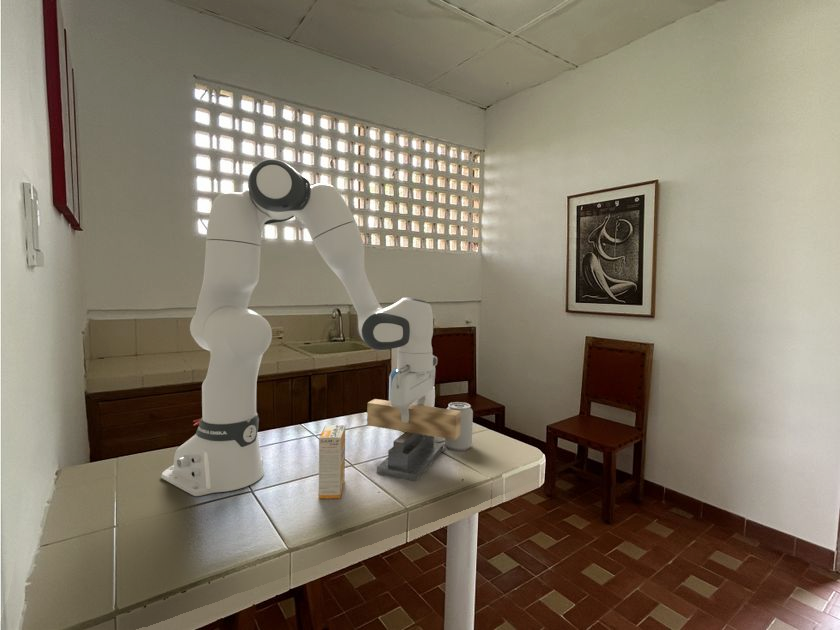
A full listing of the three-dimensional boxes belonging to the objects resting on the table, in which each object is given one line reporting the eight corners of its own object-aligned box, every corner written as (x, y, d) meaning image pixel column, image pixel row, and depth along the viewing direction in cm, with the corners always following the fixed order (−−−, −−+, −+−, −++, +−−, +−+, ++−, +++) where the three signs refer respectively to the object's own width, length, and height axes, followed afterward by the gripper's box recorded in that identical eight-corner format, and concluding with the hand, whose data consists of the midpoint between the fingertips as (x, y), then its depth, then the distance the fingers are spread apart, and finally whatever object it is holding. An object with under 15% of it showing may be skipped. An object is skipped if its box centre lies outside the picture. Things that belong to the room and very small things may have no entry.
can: (471, 442, 119) (472, 401, 118) (472, 452, 111) (473, 409, 111) (445, 440, 120) (446, 400, 119) (444, 451, 112) (445, 407, 111)
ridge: (376, 472, 98) (377, 440, 98) (409, 443, 117) (410, 415, 116) (415, 481, 94) (416, 447, 94) (443, 449, 113) (444, 421, 112)
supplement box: (341, 499, 86) (341, 437, 85) (317, 499, 86) (318, 437, 85) (345, 480, 94) (346, 424, 93) (324, 480, 94) (324, 424, 93)
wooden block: (460, 434, 102) (460, 411, 102) (455, 440, 99) (456, 415, 98) (374, 420, 111) (374, 398, 111) (367, 425, 108) (367, 402, 107)
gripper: (409, 371, 93) (408, 431, 94) (439, 357, 112) (438, 407, 113) (384, 368, 95) (383, 426, 96) (418, 355, 114) (416, 404, 115)
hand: (413, 416), depth 105 cm, fingers open, 8 cm apart
